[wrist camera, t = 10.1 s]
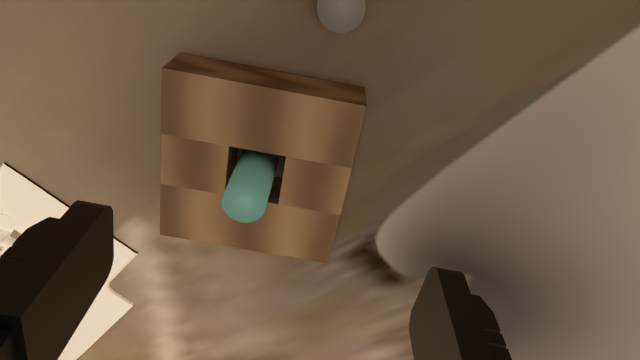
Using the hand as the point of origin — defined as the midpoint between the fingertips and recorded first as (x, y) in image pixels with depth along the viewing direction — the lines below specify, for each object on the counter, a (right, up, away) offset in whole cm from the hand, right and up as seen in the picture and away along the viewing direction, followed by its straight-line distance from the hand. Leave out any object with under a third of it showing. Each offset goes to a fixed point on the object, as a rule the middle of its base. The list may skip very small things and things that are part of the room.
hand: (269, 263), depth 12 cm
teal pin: (-4, +4, +27) cm, 27 cm away
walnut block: (-3, +4, +27) cm, 27 cm away
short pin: (+3, +15, +21) cm, 25 cm away
